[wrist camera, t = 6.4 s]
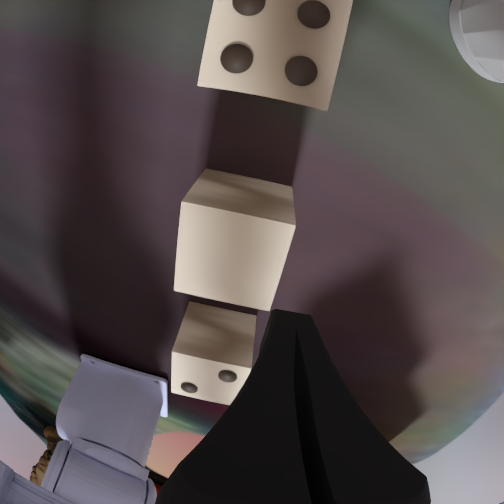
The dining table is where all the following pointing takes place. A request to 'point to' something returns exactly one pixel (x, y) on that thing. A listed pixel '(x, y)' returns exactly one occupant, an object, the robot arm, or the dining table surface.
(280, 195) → the plain block
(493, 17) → the cup
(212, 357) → the dotted block
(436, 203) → the dining table surface
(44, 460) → the brown lumpy figurine
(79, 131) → the dining table surface
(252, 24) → the dotted block
